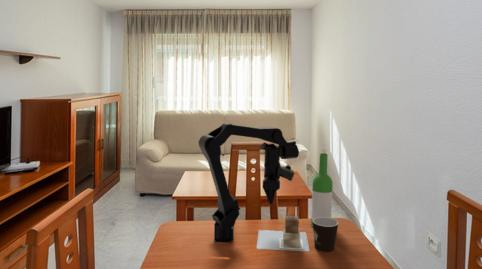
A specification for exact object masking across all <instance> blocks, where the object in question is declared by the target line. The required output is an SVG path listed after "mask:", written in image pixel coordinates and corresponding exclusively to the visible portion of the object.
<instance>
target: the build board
mask: <svg viewBox="0 0 482 269" xmlns="http://www.w3.org/2000/svg"><path fill="white" fill-rule="evenodd" d="M257 233H258V234H257V240H256V249H257V250H258V249H259V250H274V251H275V250H276V251H278V250H279V251H291V252H292V251H294V252H311V251H310V248H309V242H308V237H307V232H305V231H300V247H299V248H292V247H283V230H270V229H269V230H268V229H267V230H265V229H258V232H257Z"/></svg>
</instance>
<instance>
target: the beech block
mask: <svg viewBox="0 0 482 269" xmlns="http://www.w3.org/2000/svg"><path fill="white" fill-rule="evenodd" d="M282 231H283V247H292V248H299V247H300V232H301V231H300V229H299V230H298V233H285V226H283V230H282Z"/></svg>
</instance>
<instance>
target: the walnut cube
mask: <svg viewBox="0 0 482 269" xmlns="http://www.w3.org/2000/svg"><path fill="white" fill-rule="evenodd" d="M284 217H285V218H284V220H285V222H284V227H285V233H298V230H299V231H300V228H299V227H300V226H299V224H300V219H299V216H298V215H285V216H284Z"/></svg>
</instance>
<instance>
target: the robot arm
mask: <svg viewBox="0 0 482 269" xmlns="http://www.w3.org/2000/svg"><path fill="white" fill-rule="evenodd" d="M231 136H238V137H239V136H240V137H245V138H246V137H247V138H253V139H258V140H263V141H264V142H263V143H262V144H261V145H259V147H258V148H259V149H260V150H264V159H263V160H264V161H263V162H264V165H263V166H264V167H263V170H264V171H263V179H262V190H263V191H264V194H265V197H266V199H267V200H268V203H269V205H273V203H274V199H275V195H276V192H277V191H279V190H280V188H281V181H280V179H281V178H283V179H285V180H288V181H290V182H291V181H293V178H294V176H295V173H296V172H295V170H293V169H292V166H291V165H289V164H286V165H285V166H282V165H281V162H280V159H282V160H291V159H297V158H298V157H299V154H300V150H299V147H298V145H297V141H296V140H289V141H287V140H286V139H285V137H284V134H283V131H282V129H280V128H278V127H273V126H261V127H253V126H252V127H251V126H247V125H239V124H238V125H237V124H232V123H228V122H224V123H222V124H221V125H220V126H218V127H217V128H215V129H212V131H209V133H208V134H204V135H202V136H201V137H200V138H199V140H198V147H199V149H200V151H201V153H202V155H203V156H204V157H205V159H206V161H207V163H208V166H209V170H210V173H211V177H212V181H213V183H214V186H215V191H216V193H217V194H216V195H217V209H216V210H215V212H214V213H213V214H212V215H211V216H212V220H213V222H215V223H214V234H213V235H214V238H213V242H214V243H232V241H233V240H234V238H235V224H236V222H237V219H238V218H239V216H240V210H241V208H240V206H239V200H238V198H236V197H234V196H233V195H231V193H230V190H229V186H228V182H227V179H226V175H225V171H224V167H223V165H222V161H221V154H222V149H221V148H222V146H223V145H224V144H225V143H226V142H227V140H228V139H229V138H230V137H231ZM267 142H269V143H267Z"/></svg>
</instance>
